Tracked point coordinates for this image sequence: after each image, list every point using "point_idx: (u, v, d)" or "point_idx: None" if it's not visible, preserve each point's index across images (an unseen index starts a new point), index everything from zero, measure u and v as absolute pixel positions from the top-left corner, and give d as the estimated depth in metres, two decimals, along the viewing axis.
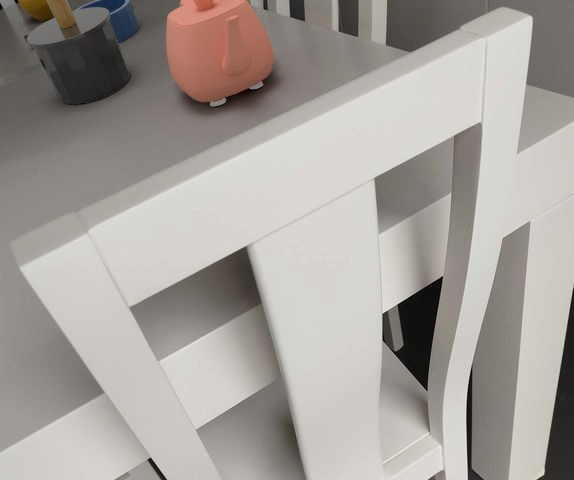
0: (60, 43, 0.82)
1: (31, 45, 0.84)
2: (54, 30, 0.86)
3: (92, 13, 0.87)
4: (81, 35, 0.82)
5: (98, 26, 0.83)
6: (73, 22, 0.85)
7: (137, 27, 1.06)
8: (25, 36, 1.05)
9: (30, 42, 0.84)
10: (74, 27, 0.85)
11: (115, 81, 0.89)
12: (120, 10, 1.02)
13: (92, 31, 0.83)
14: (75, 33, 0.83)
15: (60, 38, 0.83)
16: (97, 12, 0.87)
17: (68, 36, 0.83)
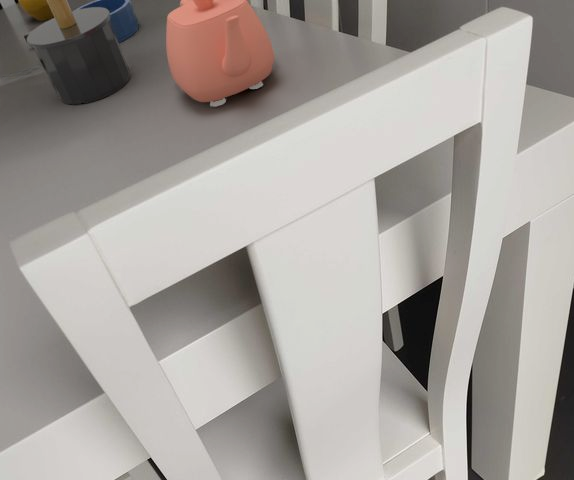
0: (60, 43, 0.82)
1: (31, 45, 0.84)
2: (54, 30, 0.86)
3: (92, 13, 0.87)
4: (81, 35, 0.82)
5: (98, 26, 0.83)
6: (73, 22, 0.85)
7: (137, 27, 1.06)
8: (25, 36, 1.05)
9: (30, 42, 0.84)
10: (74, 27, 0.85)
11: (115, 81, 0.89)
12: (120, 10, 1.02)
13: (92, 31, 0.83)
14: (75, 33, 0.83)
15: (60, 38, 0.83)
16: (97, 12, 0.87)
17: (68, 36, 0.83)
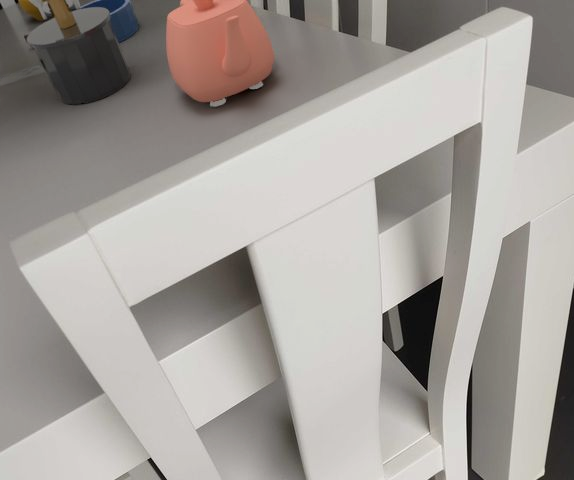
0: (60, 43, 0.82)
1: (31, 45, 0.84)
2: (54, 30, 0.86)
3: (92, 13, 0.87)
4: (81, 35, 0.82)
5: (98, 26, 0.83)
6: (73, 22, 0.85)
7: (137, 27, 1.06)
8: (25, 36, 1.05)
9: (30, 42, 0.84)
10: (74, 27, 0.85)
11: (115, 81, 0.89)
12: (120, 10, 1.02)
13: (92, 31, 0.83)
14: (75, 33, 0.83)
15: (60, 38, 0.83)
16: (97, 12, 0.87)
17: (68, 36, 0.83)
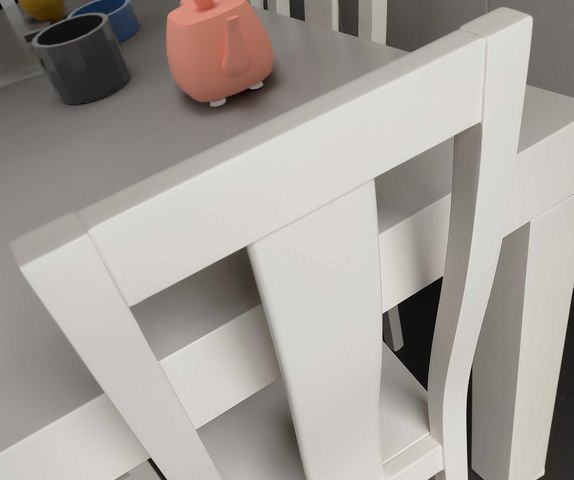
0: None
1: None
2: None
3: None
4: None
5: None
6: None
7: (137, 27, 1.06)
8: (25, 36, 1.05)
9: None
10: None
11: (115, 81, 0.89)
12: (120, 10, 1.02)
13: None
14: None
15: None
16: None
17: None
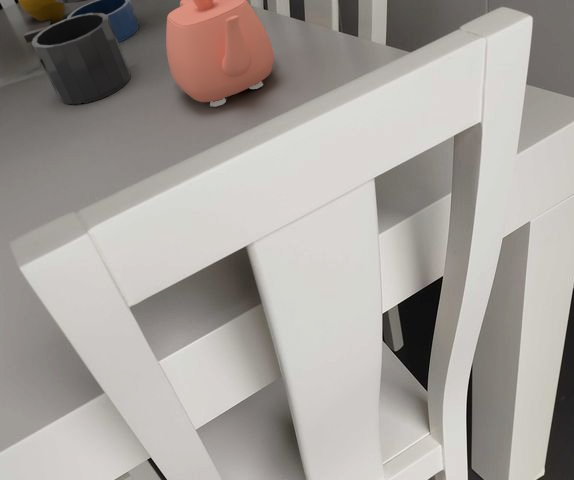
0: None
1: (58, 0, 1.00)
2: None
3: None
4: None
5: None
6: None
7: (137, 27, 1.06)
8: (25, 36, 1.05)
9: None
10: None
11: (115, 81, 0.89)
12: (120, 10, 1.02)
13: None
14: None
15: None
16: None
17: None
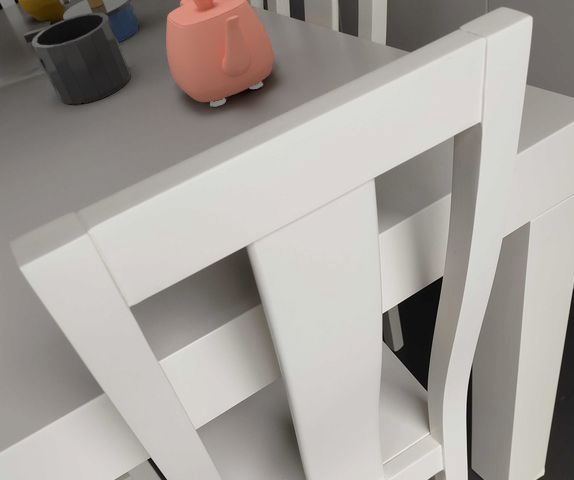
0: None
1: None
2: (85, 9, 1.04)
3: None
4: (109, 13, 1.00)
5: (122, 5, 1.01)
6: (101, 2, 1.03)
7: (137, 27, 1.06)
8: (25, 36, 1.05)
9: None
10: (102, 6, 1.03)
11: (115, 81, 0.89)
12: (120, 10, 1.02)
13: (118, 9, 1.01)
14: (104, 11, 1.01)
15: None
16: None
17: None
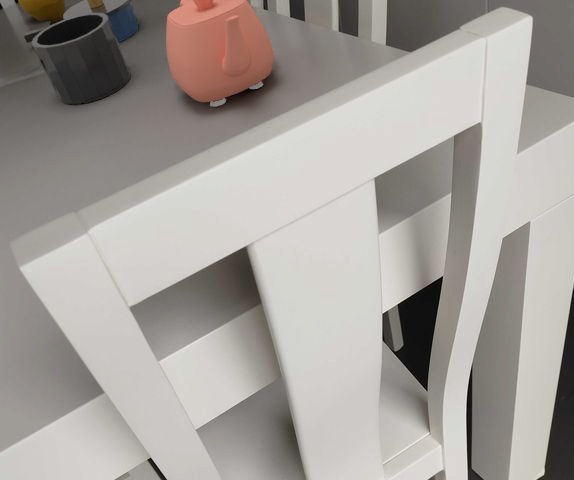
0: None
1: None
2: (85, 9, 1.04)
3: None
4: (109, 13, 1.00)
5: (122, 5, 1.01)
6: (101, 2, 1.03)
7: (137, 27, 1.06)
8: (25, 36, 1.05)
9: None
10: (102, 6, 1.03)
11: (115, 81, 0.89)
12: (120, 10, 1.02)
13: (118, 9, 1.01)
14: (104, 11, 1.01)
15: None
16: None
17: None
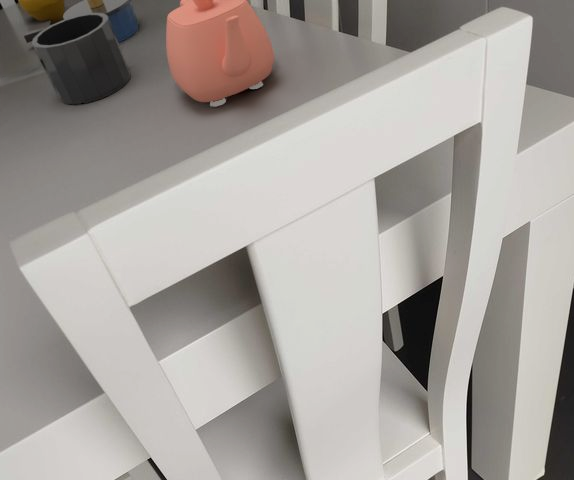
0: None
1: None
2: (85, 9, 1.04)
3: None
4: (109, 13, 1.00)
5: (122, 5, 1.01)
6: (101, 2, 1.03)
7: (137, 27, 1.06)
8: (25, 36, 1.05)
9: None
10: (102, 6, 1.03)
11: (115, 81, 0.89)
12: (120, 10, 1.02)
13: (118, 9, 1.01)
14: (104, 11, 1.01)
15: None
16: None
17: None
